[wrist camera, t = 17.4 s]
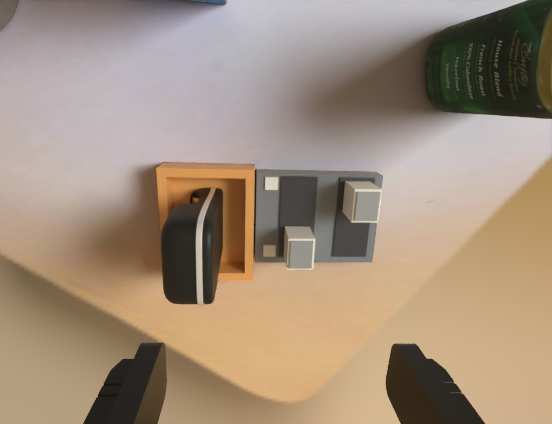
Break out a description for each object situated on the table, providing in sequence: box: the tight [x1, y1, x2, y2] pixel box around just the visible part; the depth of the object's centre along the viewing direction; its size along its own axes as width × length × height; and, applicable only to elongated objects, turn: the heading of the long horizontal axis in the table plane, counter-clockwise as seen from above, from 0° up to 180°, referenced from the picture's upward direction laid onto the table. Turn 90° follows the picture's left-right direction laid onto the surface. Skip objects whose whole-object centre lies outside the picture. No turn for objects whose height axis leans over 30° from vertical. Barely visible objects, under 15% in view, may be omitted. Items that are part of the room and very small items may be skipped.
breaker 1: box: [284, 226, 315, 270], centre depth 33 cm, size 2×3×3 cm
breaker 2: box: [342, 181, 382, 223], centre depth 32 cm, size 2×3×3 cm
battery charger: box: [161, 187, 223, 305], centre depth 30 cm, size 7×4×11 cm, turn 177°
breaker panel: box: [255, 169, 383, 262], centre depth 35 cm, size 12×9×2 cm
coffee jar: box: [425, 0, 552, 119], centre depth 25 cm, size 10×8×19 cm
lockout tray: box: [156, 162, 255, 281], centre depth 34 cm, size 9×11×3 cm
